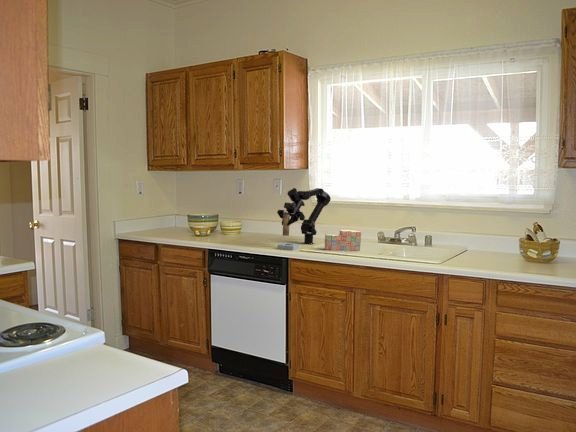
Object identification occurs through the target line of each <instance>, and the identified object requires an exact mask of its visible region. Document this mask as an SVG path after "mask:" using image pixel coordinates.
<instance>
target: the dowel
mask: <svg viewBox="0 0 576 432" xmlns="http://www.w3.org/2000/svg"><path fill="white" fill-rule="evenodd" d="M290 218H291V217H290V215H289V214H283V225H282V236H284V237H287V236H290V225H289V226H287V224H288V222H289V220H290Z"/></svg>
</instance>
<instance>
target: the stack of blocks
mask: <svg viewBox="0 0 576 432" xmlns="http://www.w3.org/2000/svg"><path fill="white" fill-rule="evenodd" d="M324 236H325V237H324V250H325V251H342V252H347V251H348V252H361V243H362V242H361V240H362V231H360V230H353V229H339V234H332V233H331V234H330V233H329V234H328V233H327V234H324Z"/></svg>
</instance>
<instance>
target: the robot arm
mask: <svg viewBox="0 0 576 432" xmlns="http://www.w3.org/2000/svg"><path fill="white" fill-rule="evenodd" d="M286 195H287V196H288V197H289V199H290V201H291V202H287V201H286V202H284V204H283V208H284V209H286V210H284V209H278V210H277V212H276V213H277V215H278V216H279V218H280V219H282V220H281V225H282V226H283V214H289V215H290V220H289V222H288V224H287V226H289V227H290V226H291V225H292V224H294V223H297V222H298V221H299V220H300V221H302V223H301V226H300V231H301V235H304V239H303V240H304V242H302V244H303V243H313V242H314V236H316V235H317V232H318V231H317V230H316V221H317V219H318V217H319V216H320V215H321V212H322V211H323V209H324V208H325V207H326V206H327V205H329V203H330V202H331V196H330V194H329V193H328V192H326V191H325V190H324V189H323V188H322V187H321V188H319V187H317V188H314V189H313V188H312V189H310V190H297V188H296V187H293V188H292V189H290V190H288V191H287V194H286ZM311 197H315V198H316V205H315V207H314V208H313V210H312V212H311V214H310V215H309V217H308V219H306V216H305V214H304V213H303V211H301V210H300V209H301V207H305V204H306V203H305V202H304V201H308V200H309V199H310V198H311Z"/></svg>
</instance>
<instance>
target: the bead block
mask: <svg viewBox="0 0 576 432" xmlns="http://www.w3.org/2000/svg"><path fill="white" fill-rule="evenodd" d="M299 247H300V245H299V244H298V243H288V242H287V243H286V242H282V243H279V244H277V250H283V251H285V250H286V251H295V250H298V249H299Z"/></svg>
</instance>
